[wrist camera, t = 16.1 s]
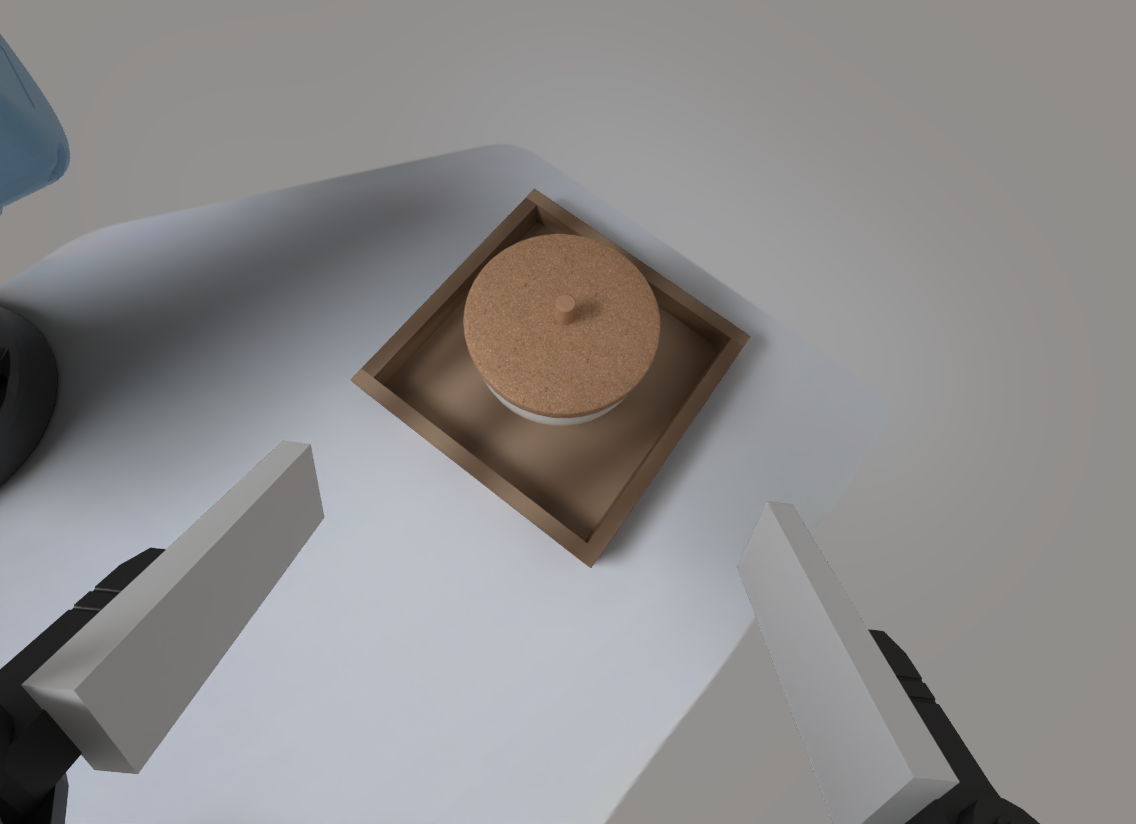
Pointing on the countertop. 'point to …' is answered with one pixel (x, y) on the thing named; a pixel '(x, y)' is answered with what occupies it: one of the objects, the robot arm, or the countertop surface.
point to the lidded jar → (561, 328)
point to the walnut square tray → (537, 451)
